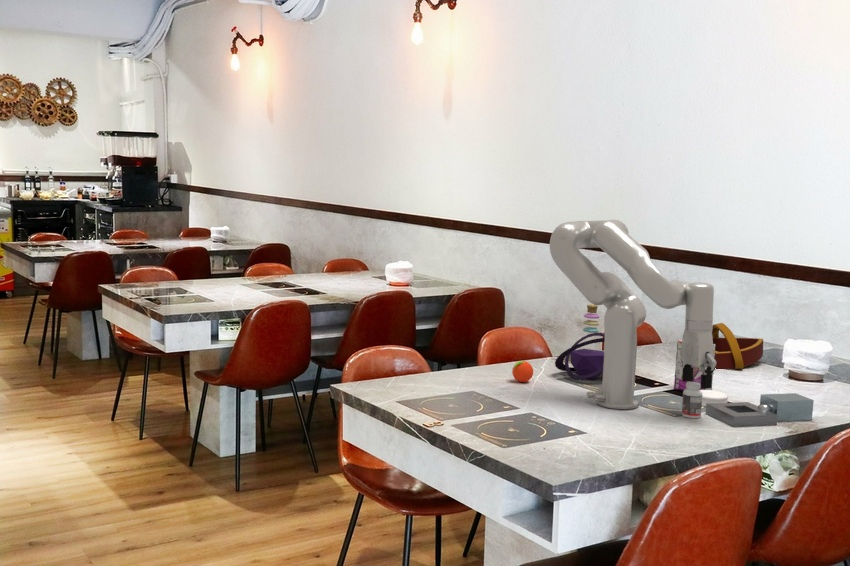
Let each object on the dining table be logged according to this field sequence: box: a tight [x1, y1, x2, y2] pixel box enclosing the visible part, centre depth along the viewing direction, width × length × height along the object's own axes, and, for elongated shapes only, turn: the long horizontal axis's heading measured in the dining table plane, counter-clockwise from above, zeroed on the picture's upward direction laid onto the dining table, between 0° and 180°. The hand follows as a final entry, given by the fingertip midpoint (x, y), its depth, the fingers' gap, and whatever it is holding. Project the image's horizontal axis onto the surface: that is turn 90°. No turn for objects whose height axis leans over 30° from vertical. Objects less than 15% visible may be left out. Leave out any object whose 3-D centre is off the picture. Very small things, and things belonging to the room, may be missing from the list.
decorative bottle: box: [554, 303, 605, 380], centre depth 302 cm, size 22×21×25 cm
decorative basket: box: [712, 322, 764, 370], centre depth 338 cm, size 34×29×15 cm
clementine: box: [511, 360, 534, 383], centre depth 293 cm, size 8×7×7 cm
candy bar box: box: [673, 338, 715, 392], centre depth 287 cm, size 11×5×16 cm, turn 47°
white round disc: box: [699, 389, 729, 408], centre depth 273 cm, size 10×10×4 cm
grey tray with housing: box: [705, 392, 815, 428], centre depth 258 cm, size 28×14×6 cm, turn 105°
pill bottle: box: [681, 382, 703, 419], centre depth 257 cm, size 5×5×10 cm
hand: (696, 384), depth 256 cm, fingers open, 9 cm apart
